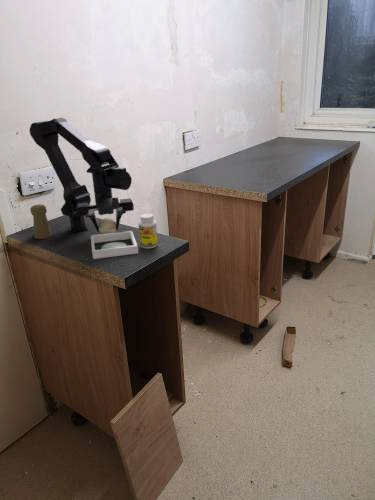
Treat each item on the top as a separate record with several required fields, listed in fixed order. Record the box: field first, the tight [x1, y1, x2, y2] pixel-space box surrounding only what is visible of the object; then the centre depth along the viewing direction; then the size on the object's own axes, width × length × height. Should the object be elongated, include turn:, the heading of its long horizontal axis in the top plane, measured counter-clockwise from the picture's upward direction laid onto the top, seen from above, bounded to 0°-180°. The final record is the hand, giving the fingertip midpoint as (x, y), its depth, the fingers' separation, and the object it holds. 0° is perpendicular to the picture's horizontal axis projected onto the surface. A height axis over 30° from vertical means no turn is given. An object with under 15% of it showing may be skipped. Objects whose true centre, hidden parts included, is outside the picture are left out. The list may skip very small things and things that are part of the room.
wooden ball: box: [98, 217, 117, 234], centre depth 136 cm, size 6×6×6 cm
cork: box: [30, 203, 53, 240], centre depth 137 cm, size 6×6×11 cm
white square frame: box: [90, 230, 139, 260], centre depth 127 cm, size 14×14×2 cm
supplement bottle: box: [138, 213, 158, 249], centre depth 126 cm, size 6×6×10 cm
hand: (107, 230), depth 137 cm, fingers closed on wooden ball, 6 cm apart
